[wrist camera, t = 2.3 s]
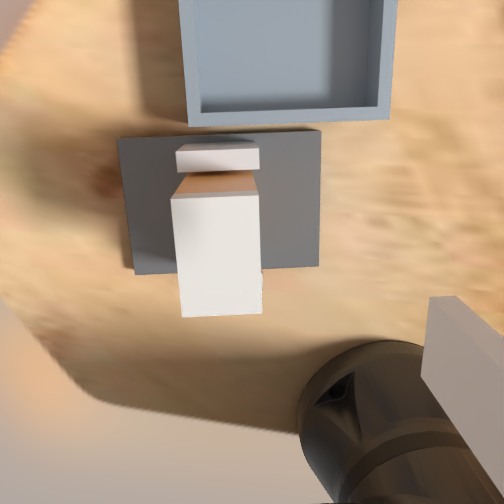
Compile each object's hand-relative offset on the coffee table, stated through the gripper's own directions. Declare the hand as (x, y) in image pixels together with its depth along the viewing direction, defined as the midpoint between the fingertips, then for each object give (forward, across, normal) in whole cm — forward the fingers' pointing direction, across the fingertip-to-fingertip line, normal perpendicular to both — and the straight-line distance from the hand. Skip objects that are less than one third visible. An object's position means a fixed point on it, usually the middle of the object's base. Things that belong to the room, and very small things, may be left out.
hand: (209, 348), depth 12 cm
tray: (+20, -4, -11) cm, 23 cm away
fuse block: (+20, 0, 0) cm, 20 cm away
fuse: (+19, 0, 0) cm, 19 cm away
